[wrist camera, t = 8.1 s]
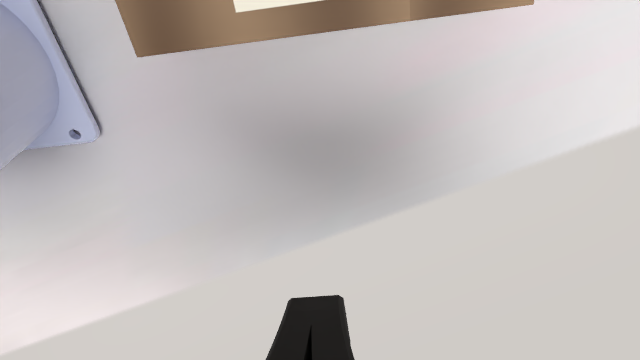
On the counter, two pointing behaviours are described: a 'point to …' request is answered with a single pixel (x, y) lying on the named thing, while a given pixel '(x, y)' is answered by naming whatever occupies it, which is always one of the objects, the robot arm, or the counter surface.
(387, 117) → the counter surface
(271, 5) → the tile one
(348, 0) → the frame
